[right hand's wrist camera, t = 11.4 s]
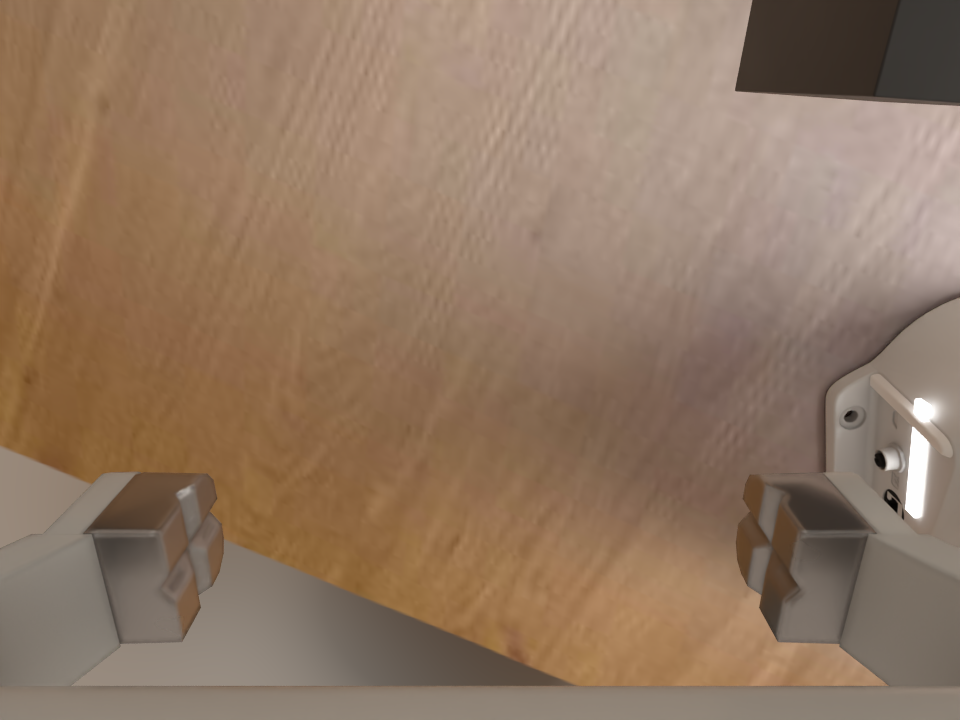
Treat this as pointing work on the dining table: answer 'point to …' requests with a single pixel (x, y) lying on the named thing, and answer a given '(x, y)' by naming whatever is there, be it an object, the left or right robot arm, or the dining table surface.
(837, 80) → the box
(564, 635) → the dining table surface
